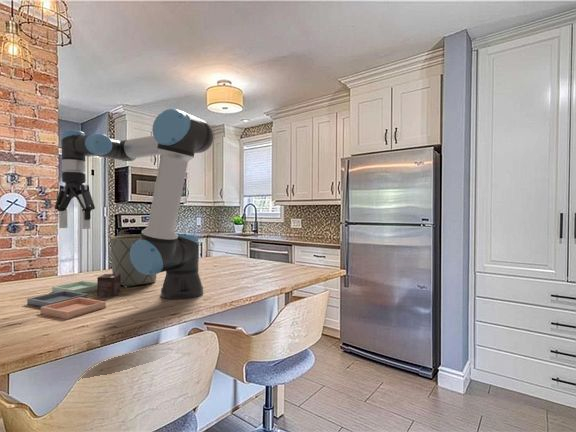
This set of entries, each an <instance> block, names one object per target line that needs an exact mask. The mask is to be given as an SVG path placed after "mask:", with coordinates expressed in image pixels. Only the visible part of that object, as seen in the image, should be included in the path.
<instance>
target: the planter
mask: <svg viewBox="0 0 576 432" xmlns="http://www.w3.org/2000/svg"><path fill="white" fill-rule="evenodd" d="M140 238H141V234H139V235H138V234H137V235H134V234H133V235H132V234H131V235H117V236H111V237H110V238H109V242H110V257H111V271H112V273H111V274H121V275H120V276H121V286H124V288H131V287H135V286H138V285H146V284H151V283H153V284H154V283H155V282H156V281H157V274H150V275H145V274H142V273H140V272H138V271H137V270H136V269H135V268H134V265H133V264H132V262H131V259H130V249H131V246H132V245H133V244H134V243H135V242H136V241H137V240H140Z"/></svg>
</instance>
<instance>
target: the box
mask: <svg viewBox="0 0 576 432" xmlns="http://www.w3.org/2000/svg"><path fill="white" fill-rule="evenodd" d="M120 275H121V274H113V273H104V274H102V275H100V276H97V277H96V278H97V281H96V282H97V290H96V293H97V298H106V297H107V298H113V297H114V298H115V297H116V296H118V295H119V294H120V293H121V292H122V291H121V287H122V285H121V276H120Z"/></svg>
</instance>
